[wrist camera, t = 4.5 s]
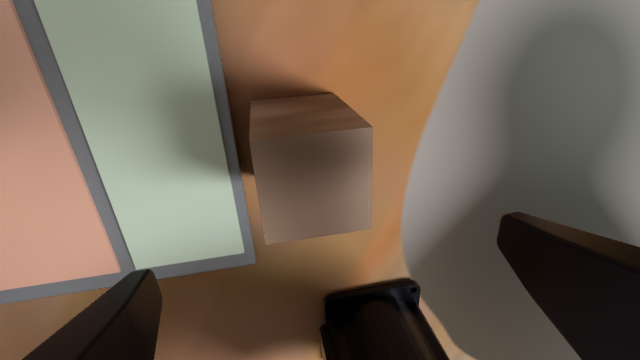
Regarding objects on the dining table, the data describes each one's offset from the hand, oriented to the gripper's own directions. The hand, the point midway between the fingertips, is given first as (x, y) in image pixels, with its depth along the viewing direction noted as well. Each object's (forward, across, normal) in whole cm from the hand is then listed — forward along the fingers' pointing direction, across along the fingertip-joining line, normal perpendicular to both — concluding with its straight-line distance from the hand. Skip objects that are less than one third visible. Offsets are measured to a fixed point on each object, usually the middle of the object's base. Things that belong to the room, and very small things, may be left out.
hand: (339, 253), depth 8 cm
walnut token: (+10, 0, 0) cm, 10 cm away
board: (+9, +10, -2) cm, 13 cm away
